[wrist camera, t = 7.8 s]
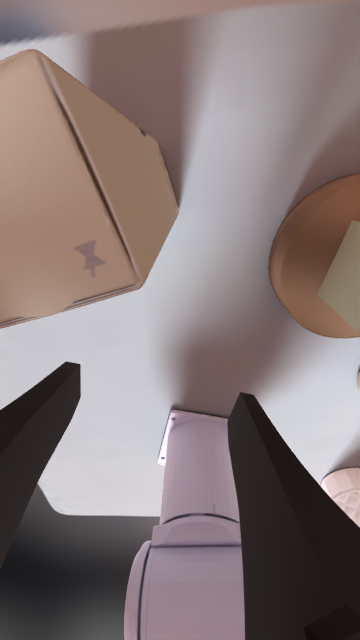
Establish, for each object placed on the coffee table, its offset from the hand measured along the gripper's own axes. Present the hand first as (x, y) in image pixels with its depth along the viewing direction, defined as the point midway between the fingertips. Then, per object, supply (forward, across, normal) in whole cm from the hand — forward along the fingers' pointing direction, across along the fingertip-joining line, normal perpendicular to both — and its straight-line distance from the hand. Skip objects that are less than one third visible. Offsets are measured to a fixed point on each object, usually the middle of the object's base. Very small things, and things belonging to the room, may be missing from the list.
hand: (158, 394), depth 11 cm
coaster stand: (+10, -11, -6) cm, 16 cm away
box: (+10, +4, -7) cm, 13 cm away
